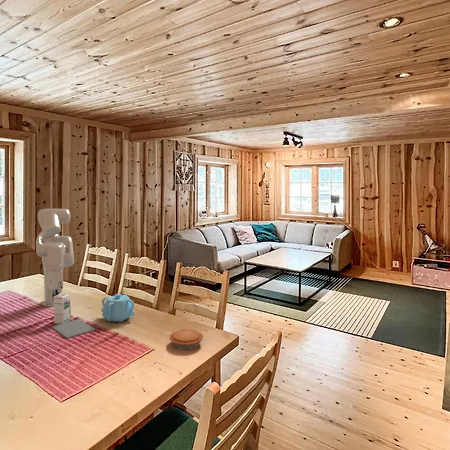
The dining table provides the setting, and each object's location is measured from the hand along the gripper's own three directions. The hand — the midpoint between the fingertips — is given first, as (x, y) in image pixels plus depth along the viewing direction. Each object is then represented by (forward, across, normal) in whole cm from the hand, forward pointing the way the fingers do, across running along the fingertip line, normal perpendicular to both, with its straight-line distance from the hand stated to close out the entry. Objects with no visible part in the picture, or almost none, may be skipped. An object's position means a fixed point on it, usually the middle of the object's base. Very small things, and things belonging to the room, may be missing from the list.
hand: (56, 301), depth 180 cm
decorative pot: (+10, +23, +23) cm, 34 cm away
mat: (+10, +20, 0) cm, 22 cm away
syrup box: (+10, +7, 0) cm, 12 cm away
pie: (+11, +72, +30) cm, 79 cm away
